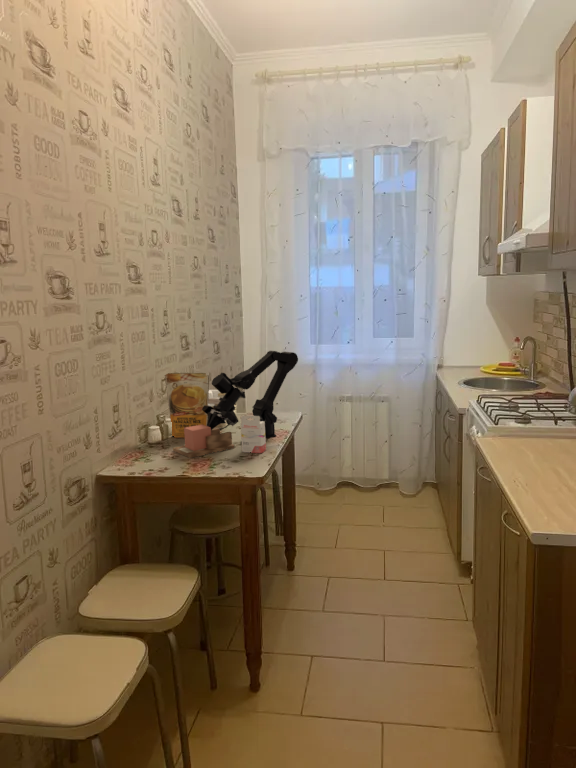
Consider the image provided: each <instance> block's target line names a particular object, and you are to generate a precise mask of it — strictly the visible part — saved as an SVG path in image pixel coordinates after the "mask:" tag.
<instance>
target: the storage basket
mask: <svg viewBox="0 0 576 768" xmlns="http://www.w3.org/2000/svg"><path fill="white" fill-rule="evenodd" d="M225 394H226V393H223V394H222V393H220V392H219V391H218V390H217V389H209V399H208V406H211V407H212V408H213V407H214V406H217V405H218V403H219V402H220V400H219V398H220V397H223V396H224V395H225ZM219 396H220V397H219ZM234 407H235V410H234V413H235V414H236V415H237V412H238V401H237V402H236V404H235V405H234ZM207 421H208V415H207ZM225 422H226V421H225ZM206 426H207V424H206ZM226 426H228V424H227V422H226V423H222V424H219V425H217V426H216V427H215V428H220V429H224V428H226ZM215 428H214V429H215Z"/></svg>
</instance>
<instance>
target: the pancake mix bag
mask: <svg viewBox="0 0 576 768" xmlns="http://www.w3.org/2000/svg"><path fill="white" fill-rule="evenodd" d="M164 380H165V388H166V395H167V403H168V409H169V418H170V423H171V422H172V436H174V437H173V438H175V439H185V434H184V428H186V427H191V426H196V425H205V426H206V424H207V414H206V413H205V412H204V411H203V410H202V408H203V407H204V406H205V405H208V399H209V390H210V375H209V374H207V372H172V373H171V372H169V373H166V374H165V375H164Z"/></svg>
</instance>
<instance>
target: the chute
mask: <svg viewBox="0 0 576 768" xmlns="http://www.w3.org/2000/svg"><path fill="white" fill-rule="evenodd" d="M220 429H221V428H213V429H212V430H211V436H206V448H205V449H200V450H196V451H193V450H190V449H188V448H185V445H180V446H177V447H173V448H172V449H173V450H172V451H173V452H175V453H176V454H177V453H178V454H180V455H182V456H185V457H187V458H188V459H192V458H197V457H202V456H206V455H210V454H209V453H211V454H213V453H212V452H215V453H218V452H217V451H219V452H223V451H222V450H224V451H227V450H226V449H228V450H231V448H233V449H235V444H233V438H232V437H233V435H232V433H233V432H232V431H227V432H221V430H220ZM205 454H206V455H205Z"/></svg>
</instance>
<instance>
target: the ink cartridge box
mask: <svg viewBox="0 0 576 768" xmlns="http://www.w3.org/2000/svg"><path fill="white" fill-rule="evenodd" d="M249 419H251V420H249ZM240 433H241V434H240V435H241V436H240V437H241V451H242V453H250V452H251V453H252V454H262V453H264V452H266V451H267V443H266V442H267V440H266V438H267V437H266V438H265V421H260V416H254V415H243V414H242V415H241V416H240Z"/></svg>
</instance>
